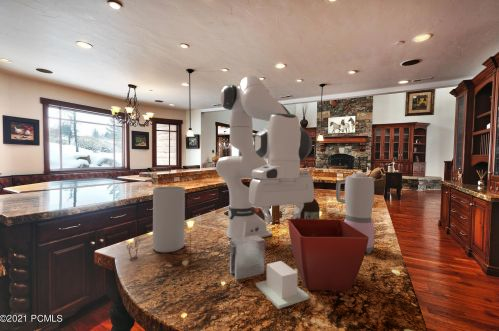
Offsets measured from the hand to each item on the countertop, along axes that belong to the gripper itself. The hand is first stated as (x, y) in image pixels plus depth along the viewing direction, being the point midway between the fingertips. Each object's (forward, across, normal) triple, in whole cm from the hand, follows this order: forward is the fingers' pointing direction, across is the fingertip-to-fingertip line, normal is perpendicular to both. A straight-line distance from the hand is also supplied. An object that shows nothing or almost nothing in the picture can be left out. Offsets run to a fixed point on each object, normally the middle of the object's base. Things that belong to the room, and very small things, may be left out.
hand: (282, 220), depth 66 cm
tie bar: (+13, +4, -14) cm, 19 cm away
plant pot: (+21, -15, 0) cm, 26 cm away
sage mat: (+20, 0, 0) cm, 20 cm away
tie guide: (+20, +4, -14) cm, 25 cm away
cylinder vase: (+21, +24, -48) cm, 58 cm away
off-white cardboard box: (+20, 0, 0) cm, 20 cm away
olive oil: (+21, -35, -30) cm, 50 cm away
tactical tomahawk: (+22, -19, -19) cm, 34 cm away
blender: (+21, -48, -15) cm, 54 cm away
